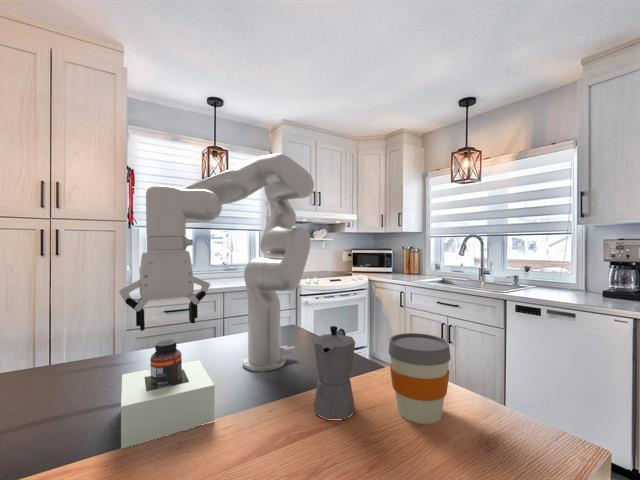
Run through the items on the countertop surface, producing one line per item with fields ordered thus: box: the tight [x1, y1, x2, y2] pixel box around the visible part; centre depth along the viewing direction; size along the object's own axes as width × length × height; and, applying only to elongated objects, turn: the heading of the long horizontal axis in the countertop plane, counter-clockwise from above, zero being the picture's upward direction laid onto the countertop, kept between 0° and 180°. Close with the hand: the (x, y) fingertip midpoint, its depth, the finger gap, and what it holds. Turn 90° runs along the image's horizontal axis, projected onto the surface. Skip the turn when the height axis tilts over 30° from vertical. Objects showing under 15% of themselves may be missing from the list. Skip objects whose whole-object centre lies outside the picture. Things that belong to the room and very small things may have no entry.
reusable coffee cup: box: [388, 332, 451, 425], centre depth 68 cm, size 13×13×15 cm
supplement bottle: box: [149, 339, 183, 390], centre depth 67 cm, size 6×6×11 cm
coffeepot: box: [312, 325, 356, 419], centre depth 70 cm, size 15×9×18 cm, turn 162°
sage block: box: [120, 359, 216, 450], centre depth 67 cm, size 16×16×8 cm
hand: (168, 325), depth 68 cm, fingers open, 9 cm apart
